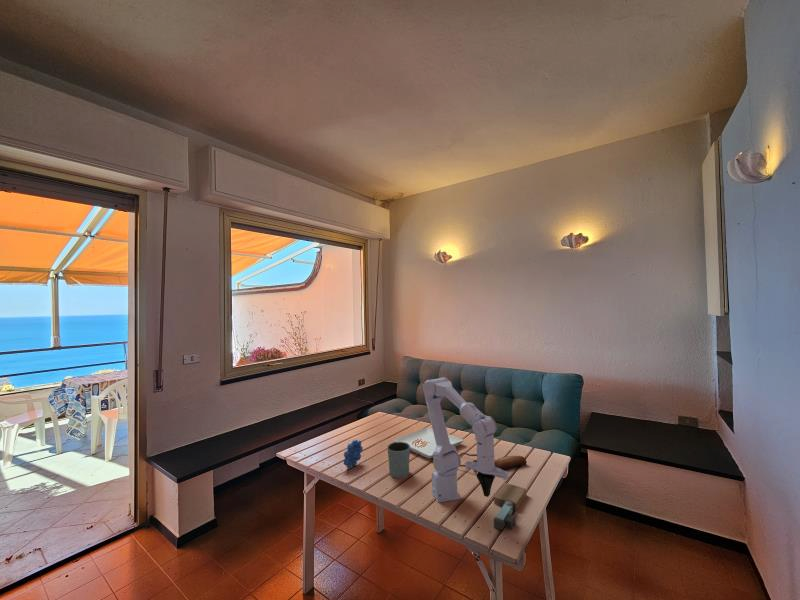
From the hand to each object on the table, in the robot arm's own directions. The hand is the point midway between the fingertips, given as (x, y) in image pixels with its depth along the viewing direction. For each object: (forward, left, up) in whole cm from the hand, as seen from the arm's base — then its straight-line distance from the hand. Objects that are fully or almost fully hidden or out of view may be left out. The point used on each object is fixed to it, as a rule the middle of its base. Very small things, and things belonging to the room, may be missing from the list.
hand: (487, 495), depth 108 cm
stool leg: (+5, -1, -8) cm, 9 cm away
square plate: (-2, +64, -9) cm, 65 cm away
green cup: (-23, +38, -8) cm, 45 cm away
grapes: (-43, +51, -8) cm, 67 cm away
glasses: (+9, +39, -9) cm, 41 cm away
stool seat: (+10, +4, -8) cm, 13 cm away
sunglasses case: (+26, +34, -9) cm, 43 cm away
